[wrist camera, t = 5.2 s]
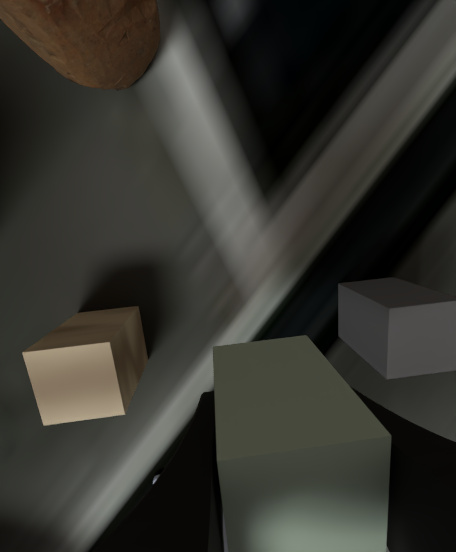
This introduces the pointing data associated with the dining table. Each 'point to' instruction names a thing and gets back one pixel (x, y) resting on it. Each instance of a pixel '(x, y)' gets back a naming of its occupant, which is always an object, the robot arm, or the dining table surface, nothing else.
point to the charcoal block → (398, 326)
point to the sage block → (297, 452)
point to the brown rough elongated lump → (89, 37)
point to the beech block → (88, 365)
